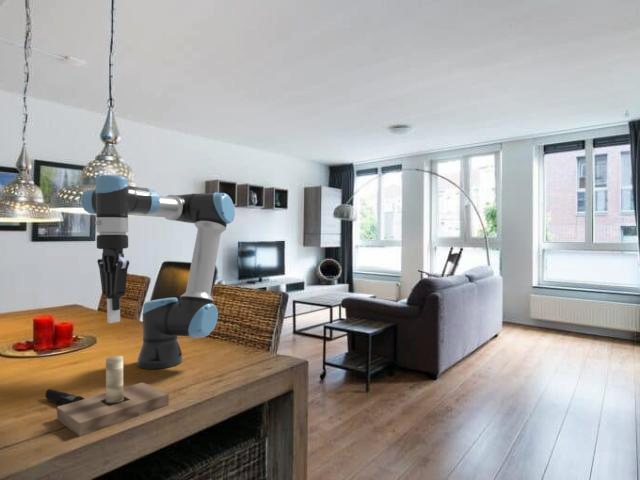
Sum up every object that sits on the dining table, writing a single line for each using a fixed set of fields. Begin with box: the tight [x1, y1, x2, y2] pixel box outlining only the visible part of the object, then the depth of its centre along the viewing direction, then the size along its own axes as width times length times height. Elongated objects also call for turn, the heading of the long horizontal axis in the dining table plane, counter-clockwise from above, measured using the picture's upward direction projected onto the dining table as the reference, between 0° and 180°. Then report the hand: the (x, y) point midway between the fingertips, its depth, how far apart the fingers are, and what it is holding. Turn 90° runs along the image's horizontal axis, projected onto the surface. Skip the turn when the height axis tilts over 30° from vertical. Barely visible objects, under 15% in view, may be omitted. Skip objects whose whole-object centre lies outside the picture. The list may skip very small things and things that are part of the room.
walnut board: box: [56, 382, 170, 437], centre depth 104 cm, size 22×14×3 cm, turn 141°
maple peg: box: [105, 355, 124, 406], centre depth 104 cm, size 4×4×14 cm
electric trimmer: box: [45, 389, 85, 405], centre depth 109 cm, size 4×16×3 cm, turn 63°
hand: (113, 321), depth 107 cm, fingers closed
